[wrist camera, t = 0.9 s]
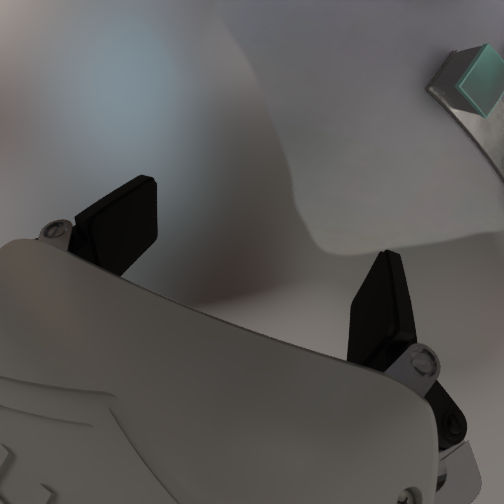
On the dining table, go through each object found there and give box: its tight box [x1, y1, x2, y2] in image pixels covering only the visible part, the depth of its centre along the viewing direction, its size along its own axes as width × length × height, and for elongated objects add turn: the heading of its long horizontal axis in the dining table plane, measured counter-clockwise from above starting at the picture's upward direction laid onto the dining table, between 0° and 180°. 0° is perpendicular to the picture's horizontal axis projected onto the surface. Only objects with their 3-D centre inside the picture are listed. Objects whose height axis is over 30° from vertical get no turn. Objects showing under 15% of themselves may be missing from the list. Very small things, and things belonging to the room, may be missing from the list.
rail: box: [425, 50, 504, 182], centre depth 22 cm, size 8×23×2 cm, turn 60°
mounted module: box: [431, 43, 504, 119], centre depth 17 cm, size 7×4×9 cm, turn 150°
